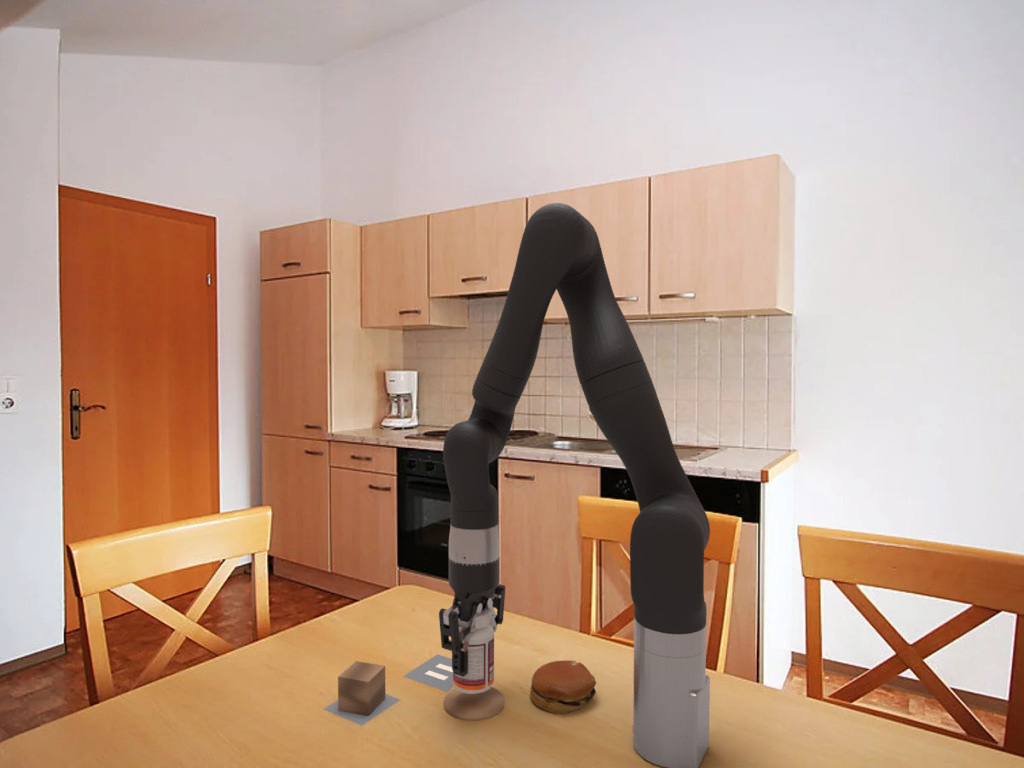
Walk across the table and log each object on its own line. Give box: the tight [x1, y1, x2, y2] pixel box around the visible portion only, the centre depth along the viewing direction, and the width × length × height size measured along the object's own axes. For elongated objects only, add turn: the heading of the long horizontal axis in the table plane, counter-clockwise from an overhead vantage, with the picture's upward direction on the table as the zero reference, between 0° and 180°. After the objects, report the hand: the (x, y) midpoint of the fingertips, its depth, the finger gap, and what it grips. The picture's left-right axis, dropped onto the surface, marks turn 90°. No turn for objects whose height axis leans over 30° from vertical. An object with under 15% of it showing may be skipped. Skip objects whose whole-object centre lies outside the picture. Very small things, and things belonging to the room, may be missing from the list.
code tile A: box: [402, 653, 455, 693], centre depth 104 cm, size 9×9×1 cm
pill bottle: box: [453, 609, 495, 694], centre depth 94 cm, size 6×6×11 cm
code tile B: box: [323, 693, 401, 726], centre depth 94 cm, size 8×8×1 cm
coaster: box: [443, 686, 505, 722], centre depth 94 cm, size 9×9×1 cm
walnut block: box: [337, 660, 386, 716], centre depth 94 cm, size 5×5×5 cm
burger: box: [529, 659, 597, 714], centre depth 96 cm, size 10×9×5 cm
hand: (473, 664), depth 94 cm, fingers closed on pill bottle, 6 cm apart
